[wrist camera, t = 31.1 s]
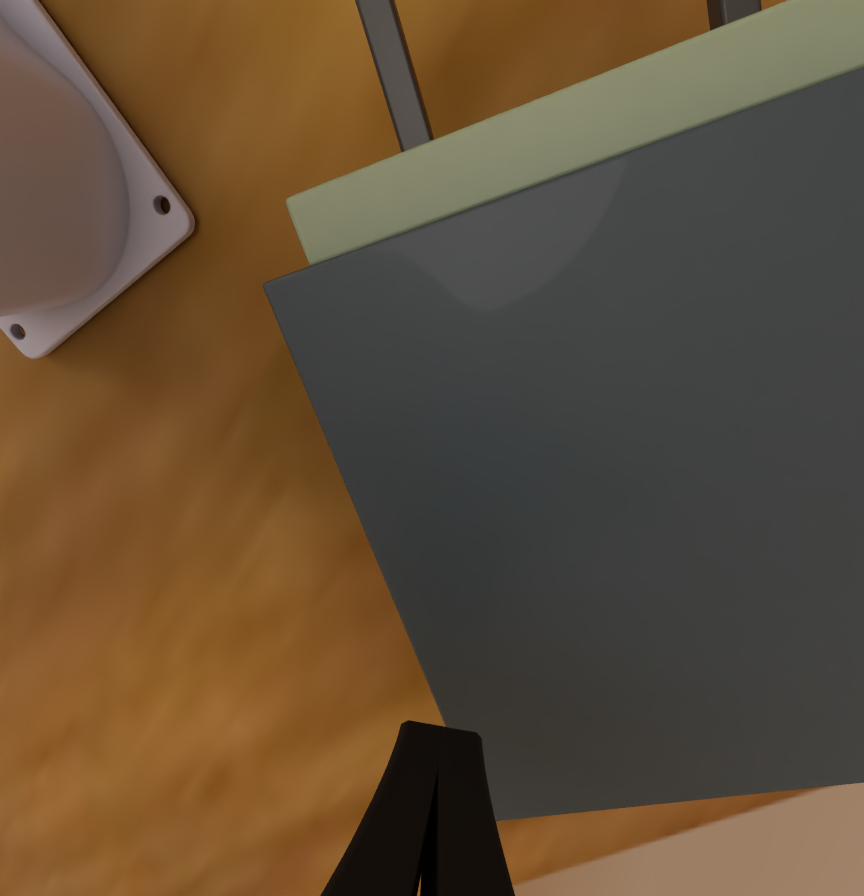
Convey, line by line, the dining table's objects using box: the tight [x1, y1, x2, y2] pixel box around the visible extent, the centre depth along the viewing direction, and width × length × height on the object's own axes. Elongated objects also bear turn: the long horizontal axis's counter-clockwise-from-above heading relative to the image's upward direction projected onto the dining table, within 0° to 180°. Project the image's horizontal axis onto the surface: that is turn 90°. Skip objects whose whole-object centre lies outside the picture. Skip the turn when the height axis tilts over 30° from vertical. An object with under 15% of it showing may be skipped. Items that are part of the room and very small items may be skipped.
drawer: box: [286, 0, 864, 266], centre depth 12 cm, size 17×10×6 cm, turn 18°
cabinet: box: [263, 67, 864, 821], centre depth 14 cm, size 13×11×8 cm
